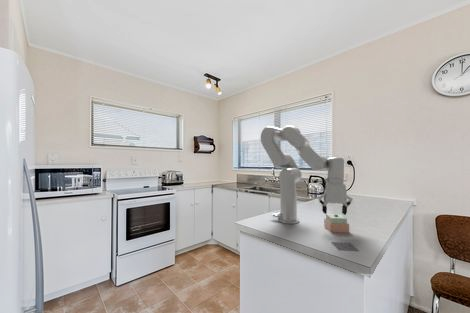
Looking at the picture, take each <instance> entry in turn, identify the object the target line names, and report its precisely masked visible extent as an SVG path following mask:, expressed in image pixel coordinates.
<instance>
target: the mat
mask: <svg viewBox="0 0 470 313" xmlns="http://www.w3.org/2000/svg"><path fill="white" fill-rule="evenodd" d="M330 243H331V244H332V245H333V247H335V248H336V249H337V251H341V252H342V251H344V252H345V251H346V252H349V251H350V252H360V250H359V249H358V248H357V247H356V246H355V245H353V243H351V242H342V241H341V242H339V241H338V242H337V241H331V242H330Z"/></svg>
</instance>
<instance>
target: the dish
mask: <svg viewBox="0 0 470 313" xmlns="http://www.w3.org/2000/svg"><path fill="white" fill-rule="evenodd" d="M323 226H324V228H325V229H326V230H328V231H329V233H346V234H347V233H350V223H348V222H347V224H337V223H330V222H329V221H328V220H327V219H326V217H325V218H323Z"/></svg>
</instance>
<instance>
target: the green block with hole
mask: <svg viewBox="0 0 470 313" xmlns="http://www.w3.org/2000/svg"><path fill="white" fill-rule="evenodd" d="M325 219H327V220H328V221H329V222H330V223H337V224H347V223H348V218H347V217H345V215H344V216H343V215H342V214H340V213H339V214H338V213H337V214H334V213H332V214H331V213H326V214H325Z"/></svg>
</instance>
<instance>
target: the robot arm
mask: <svg viewBox="0 0 470 313" xmlns="http://www.w3.org/2000/svg"><path fill="white" fill-rule="evenodd" d="M276 141H277V142H284V141H285V142H288V143H289V144H290V145H291V146H292V147H293V149H295V151H296V152H297V154H298V156H300V158H301V160H302V161H303V162H304V163H305V164H307V165H308V166H309V168H311V170H314V171H318V172H319V171H327V177H326V178H324V182H326V183H325V186H324V192H323V193H322V194H321V195H318V196H317V200H318V201H319V203H320V204H321V205H322V209H321V211H322V213H323V214H325V215H326V214H328V212H327V210H328V207H327V205H328V204H338V205H339V204H341V205H342V206H341V208H342V209H341V214H343V215H344V216H347V212H348V207H349V206H350V205H351V204H352V202H353V198H352V197H351V196H348V194H347V187H346V184H345V183H344V179H345V178H344V175H345V159H344V158H343V157H333V156H331V157H327V156H326V157H325V156H320V155H319V154H318V153H317V152H316V151H315V150H314V149H313V148H312V147H311V145H310V141H309V140H308V139H307V138H306V137H305V136H304V135H303V134H302V132H301V130H300V128H298V127H296V126H293V125H286V126H284V127H283V128H279V127H276V126H273V125H272V126H271V125H267V126H266V127H264V128H262V131H261V133H260V143H261V145H262V147H263V149H264V150H265V152H266V154H267V156H268V158H269V159H270V161H271V163H272V164H273V166H274V168H276V169H282V170H281V171H280V172H279V175H278V180H279V189H280V193H279V194H280V195H279V196H280V208H279V210H280V211H279V212H277V213H274V212H273V213H272V217H273V218H277V221H278V222H279V223H283V224H287V225H290V224H291V225H294V224H298V223H300V218H299V217H298V216H297V215H298V210H297V209H298V204H297V203H298V202H297V201H298V199H297V198H298V196H297V195H298V193H297V185H296V184H297V183H298V182H299V181H301V179H302V177H303V176H302V172H301V170H300V168H299V167H298V165H297V163H296V161H295V160H294V158H293V157H292V156H291V155H290V154H288V153H284V152H283V151H282V150H281V148H280V146H279V145H278V144H277V142H276ZM322 199H323V200H322Z"/></svg>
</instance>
